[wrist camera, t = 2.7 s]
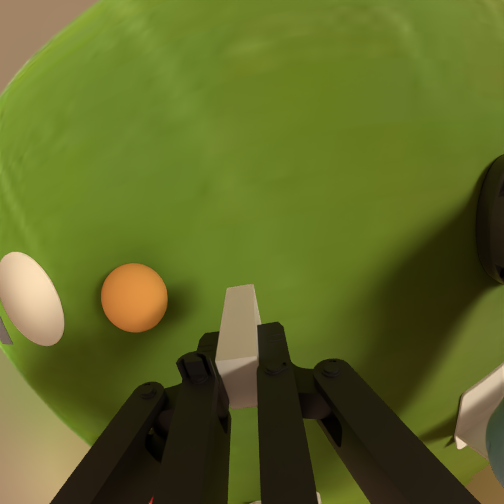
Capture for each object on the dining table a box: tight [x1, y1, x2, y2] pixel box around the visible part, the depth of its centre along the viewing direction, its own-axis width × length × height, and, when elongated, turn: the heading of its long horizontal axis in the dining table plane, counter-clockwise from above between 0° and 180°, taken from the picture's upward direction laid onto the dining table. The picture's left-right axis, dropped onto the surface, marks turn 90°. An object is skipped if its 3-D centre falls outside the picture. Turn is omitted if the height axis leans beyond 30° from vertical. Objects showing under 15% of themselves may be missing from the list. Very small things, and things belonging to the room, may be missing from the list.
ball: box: [101, 263, 168, 332], centre depth 21 cm, size 6×6×6 cm
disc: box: [0, 252, 65, 346], centre depth 24 cm, size 12×12×1 cm
